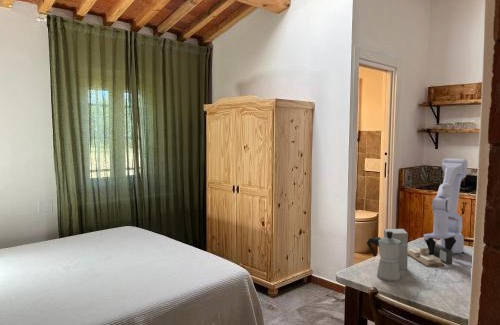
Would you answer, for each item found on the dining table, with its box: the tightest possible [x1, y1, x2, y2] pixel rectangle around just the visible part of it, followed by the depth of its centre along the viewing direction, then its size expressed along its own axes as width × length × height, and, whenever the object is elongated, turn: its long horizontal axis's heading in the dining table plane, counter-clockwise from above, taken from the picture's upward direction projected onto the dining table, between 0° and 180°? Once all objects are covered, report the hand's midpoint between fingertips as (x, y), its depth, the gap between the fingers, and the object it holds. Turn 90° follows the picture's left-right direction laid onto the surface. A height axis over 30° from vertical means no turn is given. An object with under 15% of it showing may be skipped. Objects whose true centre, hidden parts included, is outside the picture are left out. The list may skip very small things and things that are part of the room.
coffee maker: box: [366, 231, 406, 282], centre depth 145 cm, size 15×9×18 cm, turn 57°
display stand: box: [408, 246, 445, 268], centre depth 165 cm, size 8×17×5 cm, turn 7°
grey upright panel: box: [428, 243, 454, 265], centre depth 166 cm, size 14×3×6 cm, turn 7°
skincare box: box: [383, 228, 409, 270], centre depth 155 cm, size 8×7×16 cm
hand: (439, 254), depth 166 cm, fingers open, 7 cm apart
